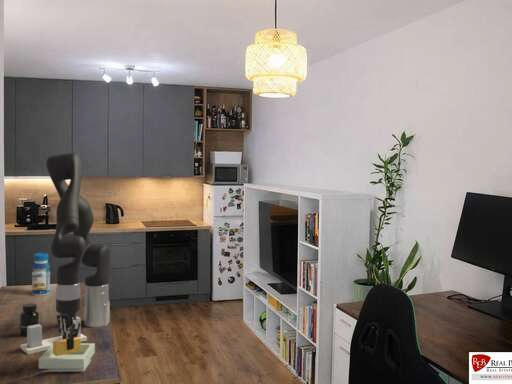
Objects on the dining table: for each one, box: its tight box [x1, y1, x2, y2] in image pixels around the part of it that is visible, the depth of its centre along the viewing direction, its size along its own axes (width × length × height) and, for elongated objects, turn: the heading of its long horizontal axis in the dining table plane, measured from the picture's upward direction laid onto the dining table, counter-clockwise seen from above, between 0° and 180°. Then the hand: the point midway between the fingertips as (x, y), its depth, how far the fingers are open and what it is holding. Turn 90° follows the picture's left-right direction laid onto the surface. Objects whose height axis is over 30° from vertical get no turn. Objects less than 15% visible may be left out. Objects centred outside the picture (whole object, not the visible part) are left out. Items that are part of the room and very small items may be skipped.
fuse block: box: [20, 333, 88, 355], centre depth 180 cm, size 21×7×2 cm, turn 134°
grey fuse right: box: [76, 316, 82, 337], centre depth 185 cm, size 4×3×8 cm
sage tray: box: [38, 342, 96, 373], centre depth 166 cm, size 14×14×4 cm
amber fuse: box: [53, 337, 81, 356], centre depth 166 cm, size 4×3×8 cm
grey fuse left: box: [26, 323, 43, 348], centre depth 175 cm, size 4×3×8 cm
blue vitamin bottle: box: [31, 252, 51, 297], centre depth 250 cm, size 8×8×20 cm
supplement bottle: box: [19, 302, 40, 338], centre depth 190 cm, size 7×7×12 cm
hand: (68, 347), depth 166 cm, fingers closed on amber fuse, 2 cm apart
